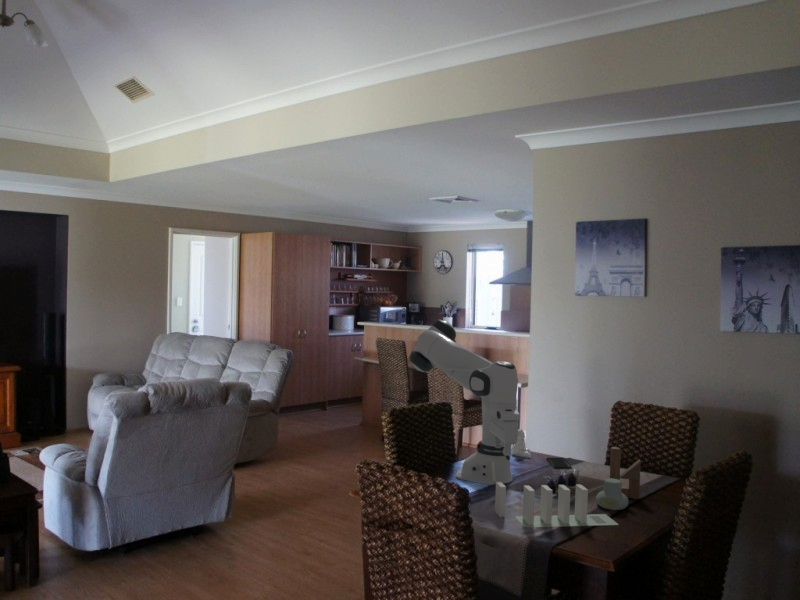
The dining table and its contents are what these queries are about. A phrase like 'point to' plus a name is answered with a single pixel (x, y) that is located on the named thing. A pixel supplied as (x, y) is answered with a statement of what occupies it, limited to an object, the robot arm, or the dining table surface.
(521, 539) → the dining table surface
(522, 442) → the sitting furry creature
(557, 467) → the phone
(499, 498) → the domino
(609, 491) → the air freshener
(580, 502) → the domino
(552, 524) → the domino board
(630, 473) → the wooden block
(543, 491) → the domino
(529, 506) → the domino
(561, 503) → the domino
